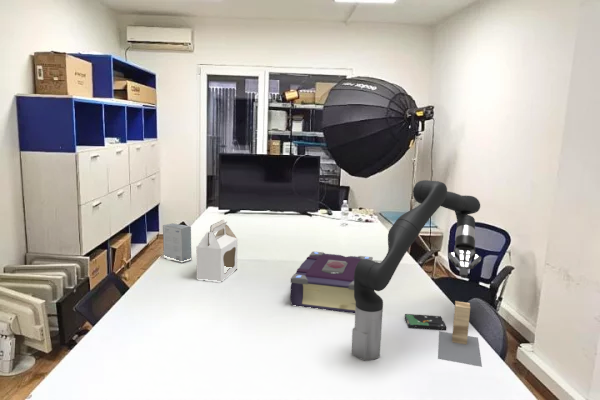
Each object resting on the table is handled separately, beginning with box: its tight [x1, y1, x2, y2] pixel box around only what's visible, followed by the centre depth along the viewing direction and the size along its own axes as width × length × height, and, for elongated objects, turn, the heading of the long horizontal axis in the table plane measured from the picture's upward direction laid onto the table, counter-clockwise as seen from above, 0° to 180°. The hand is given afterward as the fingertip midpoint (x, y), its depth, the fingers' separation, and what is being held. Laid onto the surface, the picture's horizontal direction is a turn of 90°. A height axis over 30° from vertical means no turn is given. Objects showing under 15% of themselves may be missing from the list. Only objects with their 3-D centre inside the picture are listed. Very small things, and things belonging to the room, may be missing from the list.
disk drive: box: [404, 313, 448, 332], centre depth 177 cm, size 10×3×15 cm
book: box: [289, 251, 374, 314], centre depth 210 cm, size 33×45×14 cm
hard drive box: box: [162, 223, 192, 261], centre depth 252 cm, size 16×8×20 cm, turn 58°
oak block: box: [451, 300, 471, 344], centre depth 163 cm, size 5×5×14 cm
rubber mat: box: [437, 330, 483, 368], centre depth 158 cm, size 22×14×1 cm, turn 161°
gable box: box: [196, 219, 238, 281], centre depth 227 cm, size 22×13×28 cm, turn 167°
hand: (463, 276), depth 170 cm, fingers closed
